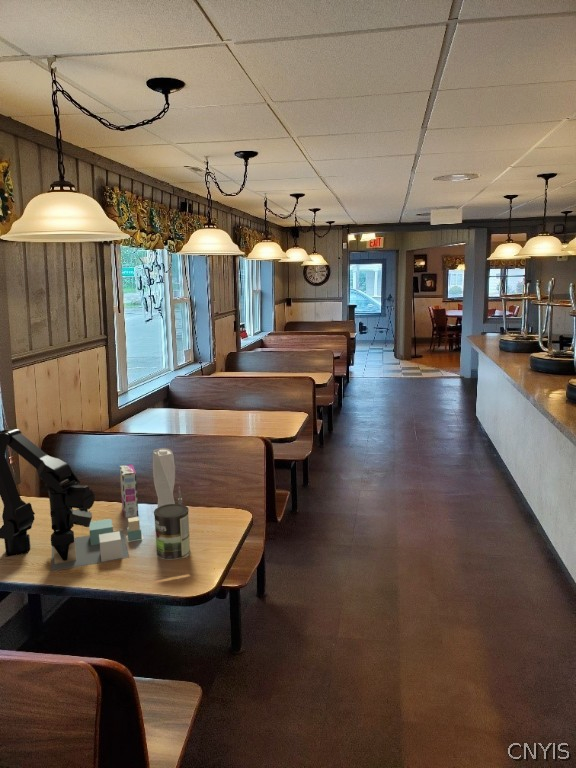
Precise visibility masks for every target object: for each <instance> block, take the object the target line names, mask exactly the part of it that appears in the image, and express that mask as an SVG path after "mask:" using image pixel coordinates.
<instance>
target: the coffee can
mask: <svg viewBox="0 0 576 768" xmlns="http://www.w3.org/2000/svg"><path fill="white" fill-rule="evenodd" d="M153 516H154V528H155V529H154V530H155V546H156V547H155V548H156V556H157V557H158V558H160V559H163V560H168V561H169V560H170V561H171V560H177V559H181V558H183V559H185V557H186V558H187V557H189V555H190V554H191V546H190V545H191V544H190V543H191V540H190V519H189V518H190V517H189V506H187V505H184V504H183V503H182V504H178V503H175V504H168V505H163V506H160V507H158V506H157V508H155V509H154V511H153Z"/></svg>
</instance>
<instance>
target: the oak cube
mask: <svg viewBox="0 0 576 768" xmlns="http://www.w3.org/2000/svg"><path fill="white" fill-rule="evenodd" d="M75 538H76V536H75V535H74V542H73V543H71V544H70V545H69V550H68V558H67V560H65V561H63V559H62V558H61V556H60V555H59V553H58V552H57V550H56V549H55V548H54V546H53V551H54V561H55V564H57V563H63V562H68V561H74V560H76V547H75Z"/></svg>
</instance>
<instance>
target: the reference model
mask: <svg viewBox="0 0 576 768" xmlns="http://www.w3.org/2000/svg"><path fill="white" fill-rule="evenodd" d="M127 523H128V524H127V526H128V527H127V529H126V532H127V535H125V536H126V537H125V539H126V543H130V542H137V541H142V540H144V535H143V533H142V528H141V526H140V519H139V516H134V517H128V518H127Z"/></svg>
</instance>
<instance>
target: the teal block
mask: <svg viewBox="0 0 576 768" xmlns="http://www.w3.org/2000/svg"><path fill="white" fill-rule="evenodd" d="M112 520H113V519H112V518H105V519H100V520H99V519H98V520H94V521H92V520H91V522H90V526H89V527H88V529H89V535H90V541H91V545H97V544H100V542H99V534H106V533H112V532H113V531H114V526H113V521H112Z"/></svg>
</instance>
